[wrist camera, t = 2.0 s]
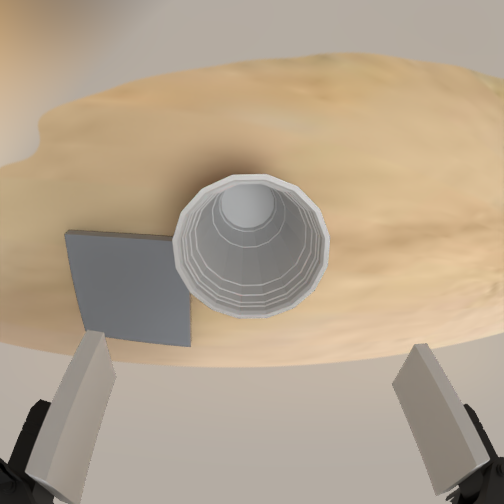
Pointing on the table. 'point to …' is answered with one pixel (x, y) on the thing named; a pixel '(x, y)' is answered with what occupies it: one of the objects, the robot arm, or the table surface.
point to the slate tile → (130, 286)
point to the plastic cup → (251, 246)
